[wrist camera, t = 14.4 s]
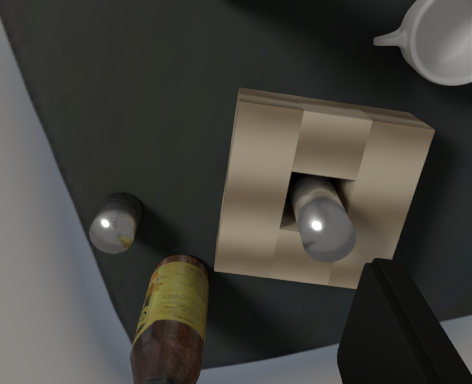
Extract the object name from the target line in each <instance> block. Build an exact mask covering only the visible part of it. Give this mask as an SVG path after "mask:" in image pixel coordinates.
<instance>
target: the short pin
mask: <svg viewBox="0 0 472 384" xmlns="http://www.w3.org/2000/svg"><path fill="white" fill-rule="evenodd" d="M141 216H142V206H141V204H140V202H139V201H138V200H137V199H136V198H135V197H134V196H132V195H130V194H128V193H123V192H118V193H114V194H111V195H110V196H108V197H107V198H106V200H105V201H104V203H103V205H102V207H101V209H100V211H99V212H98V214H97V216H96V218H95V220H94V222H93V224H92V225H91V228H90V231H89V235H90V239H91V241H92V243H93V244H94V245H95V246H96V247H97V248H98V249H99V250H101V251H103V252H106V253H110V254H117V253H121V252H124V251H126V250H127V249H128V248H129V247H130V246H131V244H132V242H133V239H134V236H135V233H136V230H137V228H138V225H139V222H140V219H141Z"/></svg>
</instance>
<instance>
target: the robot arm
mask: <svg viewBox="0 0 472 384" xmlns="http://www.w3.org/2000/svg"><path fill="white" fill-rule="evenodd" d="M337 363H338V368H339V372H340V375H341V378H342V382H343V384H472V374H471V373H470V371H469V370H468V368H467V366H466V365H465V363H464V362H463V360H462V358H461V357H460V355H459V354H458V352H457V350H456V349H455V347H454V345H453V344H452V342H451V341H450V339H449V338H448V336H447V334H446V333H445V331H444V329H443V328H442V326H441V325H440V323H439V321H438V320H437V318H436V317H435V315H434V313H433V312H432V310H431V308H430V307H429V305H428V304H427V302H426V300H425V299H424V297H423V296H422V294H421V292H420V291H419V289H418V288H417V286H416V284H415V283H414V281H413V279H412V278H411V276H410V275H409V273H408V271H407V270H406V268H405V267H404V265H403V263H402V262H401V261H399V260H391V259H384V258H374V259H373V261H372V262H371V263H368V262H367V263H365V265H364V267H363V270H362V273H361V276H360V279H359V283H358V286H357V289H356V292H355V296H354V299H353V302H352V305H351V309H350V312H349V315H348V319H347V322H346V325H345V328H344V332H343V335H342V338H341V341H340V345H339V348H338V353H337Z"/></svg>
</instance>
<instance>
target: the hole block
mask: <svg viewBox="0 0 472 384" xmlns="http://www.w3.org/2000/svg"><path fill="white" fill-rule="evenodd" d="M434 132H435V130H434V129H433V128H431V127H430V126H428V125H427V124H425V123H424V122H422V121H421V120H419V119H418V118H416V117H415V116H413V115H412V114H410V113H408V112H401V111H394V110H387V109H381V108H374V107H367V106H361V105H354V104H347V103H340V102H334V101H327V100H320V99H313V98H307V97H300V96H293V95H287V94H280V93H273V92H266V91H260V90H253V89H246V88H239V93H238V100H237V106H236V113H235V120H234V127H233V133H232V140H231V147H230V154H229V161H228V167H227V174H226V181H225V188H224V195H223V201H222V208H221V215H220V222H219V228H218V235H217V244H216V255H215V266H214V271H218V272H226V273H234V274H242V275H250V276H258V277H266V278H274V279H282V280H290V281H298V282H305V283H313V284H321V285H329V286H337V287H345V288H353V289H357V286H358V283H359V279H360V276H361V273H362V270H363V267H364V265H365V263H367V262H368V263H371V262H372V261H373V259H374V258H384V259H391V260H392V258H393V255H394V252H395V249H396V246H397V243H398V240H399V237H400V234H401V231H402V228H403V225H404V222H405V219H406V216H407V213H408V210H409V207H410V204H411V201H412V198H413V195H414V192H415V189H416V186H417V183H418V180H419V177H420V174H421V171H422V168H423V165H424V162H425V159H426V156H427V153H428V150H429V147H430V144H431V141H432V138H433V135H434ZM291 171H292V172H300V173H307V174H314V175H321V176H328V177H335V178H336V180H335V184H334V189H335V191H336V193H337V195H338V197H339V199H340V201H341V203H342V205H343V207H344V209H345V211H346V213H347V215H348V217H349V219H350V221H351V223H352V225H353V227H354V229H355V232H356V243H355V246H354V248H353V250H352V251H351V252H350V253H349V254H348V255H347V256H346V257H345V258H343V259H341V260H339V261H336V262H331V263H323V262H319V261H316V260H314V259H312V258H311V257H310V256H309V255H308V254H307V253H306V252H305V250H304V247H303V244H302V240H301V236H300V232H299V229H298V225H297V221H296V217H295V213H294V209H293V206H292V204H290V203H285V200H286V195H287V190H288V185H289V180H290V176H291Z"/></svg>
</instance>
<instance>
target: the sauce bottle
mask: <svg viewBox="0 0 472 384" xmlns="http://www.w3.org/2000/svg"><path fill="white" fill-rule="evenodd" d="M208 292H209V283H208V272H207V270H206V268H205V267H204V266H203V264H201V263H200V262H199V261H198V260H197V259H195V258H194V257H191V256H189V255H181V254H179V255H172V256H169V257H166V258H165V259H164V260H162V261H161V262H160V263H159V264H158V265H157V267H156V270H155V272H154V273H153V275H152V277H151V281H150V284H149V288H148V291H147V295H146V299H145V302H144V305H143V310H142V313H141V316H140V320H139V323H138V328H137V331H136V335H135V339H134V342H133V345H132V350H131V355H130V360H131V366H132V372H133V378H134V384H196V382H197V380H198V378H199V375H200V372H201V367H202V366H201V364H202V353H203V351H204V343H205V330H206V318H207V306H208Z"/></svg>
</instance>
